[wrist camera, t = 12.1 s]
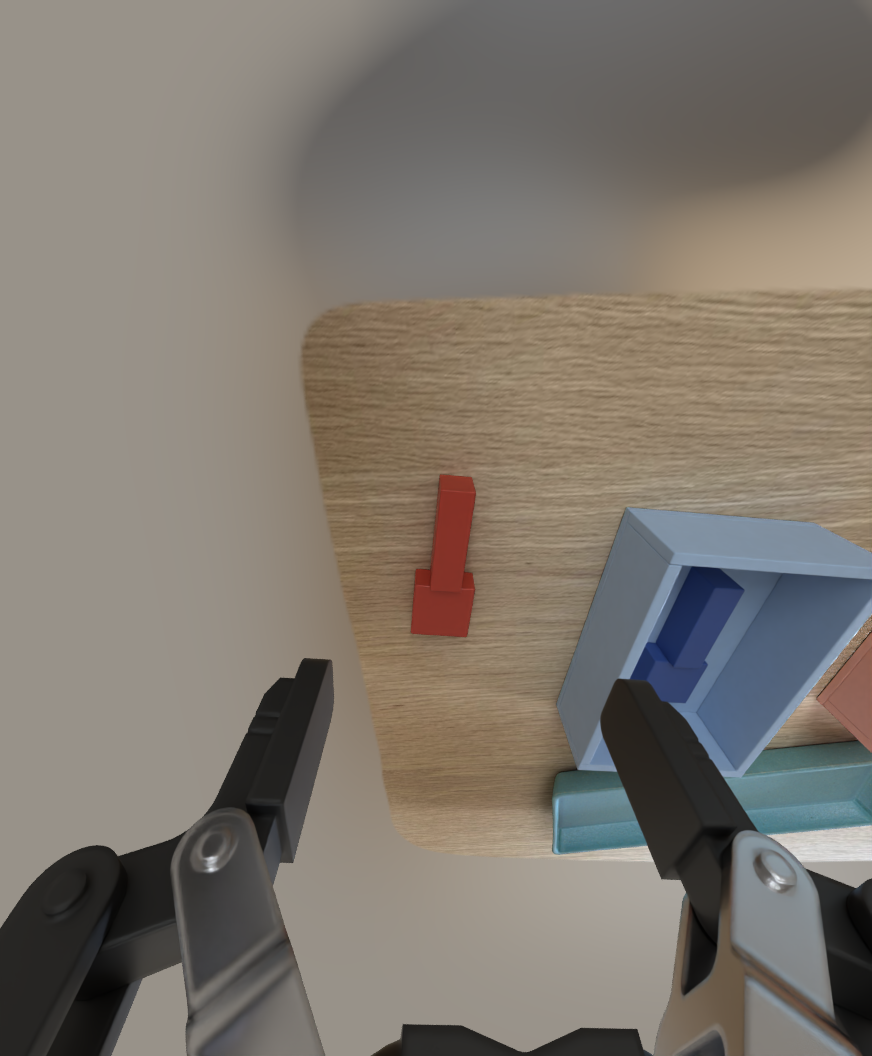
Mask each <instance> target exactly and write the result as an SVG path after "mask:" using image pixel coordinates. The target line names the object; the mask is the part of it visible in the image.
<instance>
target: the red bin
mask: <svg viewBox="0 0 872 1056" xmlns="http://www.w3.org/2000/svg"><path fill="white" fill-rule="evenodd" d="M817 700H818V701H819V702H820V703H821V704H822V705H823V706H824V707H825V708H826V709H827V710H828V711H829V712H830V713H831V714H832V715H833V716H834V717H835V718H836V719H837V720H838V721H839V722H840V723H841V724H842V725H843V726H844V727H846V728H847V729H848V730H849V731H850V732H851V733H852V734H853V735H854V736H855V737H856V738H857V739H858V740H859V741H860V742H861V743H862V744H863V745H864V746H865V747H866V748H867V749H868V750H869V751H870V752H871V753H872V632H871V633H870V635H869V636H868V637H867V638H866V639H865V641H864V642H863V643H862V644H861V645H860V647H859V648H858V649H857V650H856V652H855V653H854V654H853V655H852V656H851V658H850V659H849V660H848V661H847V662H846V664H845V665H844V666H843V667H842V669H841V670H840V671H839V672H838V673H837V675H836V676H835V677H834V678H833V679H832V681H831V682H830V683H829V684H828V686H827V687H826V688H825V689H824V690H823V692H822V693H821V694H820V695H819V696H818V698H817Z"/></svg>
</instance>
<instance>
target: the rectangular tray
mask: <svg viewBox="0 0 872 1056" xmlns="http://www.w3.org/2000/svg"><path fill="white" fill-rule="evenodd" d="M723 778H724V779H725V781H726V782H727V784H728V785H729V787H730V789H731V790H732V792H733V793H734V795H735V796H736V798H737V799H738V801H739V803H740V804H741V806H742V807H743V809H744V810H745V812H746V813H747V815H748V817H749V818H750V820H751V821H752V823H753V824H754V826H755V827H756V828H757V830H758V831H759V832H760V833H762V834H764V835H773V834H785V833H796V832H808V831H818V830H829V829H839V828H848V827H860V826H869V825H872V753H871V752H870V751H869V750H868V749H867V748H866V747H865V746H864V745H863V744H862V743H861V742H860V741H852V742H841V743H831V744H821V745H811V746H801V747H791V748H781V749H771V750H762V752H761V753H760V754H759V755H758V757H757V758H756V759H755V760H754V762H753V763H752V764H751V765H750V767H749V768H748V769H747V770H746V771H745V773H744V775H743V776H742V777H741V778H739V777H723ZM552 809H553V844H552V852H553V853H554V854H558V855H560V854H568V853H578V852H588V851H596V850H607V849H618V848H629V847H639V846H648V845H647V843H646V840H645V838H644V836H643V833H642V831H641V828H640V826H639V823H638V821H637V819H636V816H635V814H634V811H633V809H632V806H631V804H630V802H629V799H628V797H627V794H626V792H625V789H624V787H623V785H622V782H621V780H620V777H619V775H618V772H613V771H592V770H577V771H569V772H561V773H559V774H557V776H556V778H555V783H554V787H553V796H552Z"/></svg>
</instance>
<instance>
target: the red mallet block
mask: <svg viewBox="0 0 872 1056" xmlns="http://www.w3.org/2000/svg"><path fill="white" fill-rule="evenodd" d="M475 496H476V491H475V487H474V484H473V480H472V477H463V476H451V475H440V478H439V488H438V498H437V507H436V517H435V527H434V537H433V546H432V556H431V566H430V570H426V569H416V572H415V584H414V597H413V609H412V622H411V633H412V634H424V635H440V636H455V637H467V634H468V628H469V622H470V617H471V611H472V605H473V599H474V594H475V586H474V580H473V574H472V573H468V572H464V569H465V562H466V556H467V549H468V542H469V536H470V529H471V523H472V516H473V510H474V503H475Z"/></svg>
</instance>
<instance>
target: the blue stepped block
mask: <svg viewBox="0 0 872 1056" xmlns="http://www.w3.org/2000/svg"><path fill="white" fill-rule="evenodd" d="M744 591H745V590H744V589H743V588H742V587H741V586H740V585H739V584H737V583H736V582H735V581H734V580H733V579H732V578H730V577H729V576H728V575H727V574H726V573H724V572H723V571H722V570H721V569H720V568H710V567H696V566H692V567H691V569H690V571H689V573H688V575H687V578H686V580H685V582H684V584H683V586H682V588H681V590H680V592H679V594H678V596H677V598H676V601H675V603H674V605H673V607H672V609H671V611H670V613H669V615H668V617H667V619H666V621H665V623H664V626H663V628H662V630H661V632H660V634H659V636H658V638H657V640H656V643H651V642H647V643H646V645H645V647H644V649H643V651H642V653H641V655H640V658H639V660H638V662H637V664H636V666H635V668H634V670H633V673H632V675H631V677H630V679H635V680H646V681H648V682H649V683H650V684H651V685H652V687H653V688H654V690H655V692H656V693H657V695H658V697H659V698H660V700H661V701H665V702H668V703H686V702H687V700H688V699H689V697H690V695H691V693H692V692H693V690H694V688H695V687H696V685H697V683H698V682H699V680H700V678H701V676H702V675H703V673H704V671H705V670H706V668H707V666H708V664H707V663H706V661H705V659H706V657H707V655H708V654H709V652H710V650H711V649H712V647H713V645H714V643H715V642H716V640H717V638H718V636H719V635H720V633H721V631H722V629H723V628H724V626H725V624H726V623H727V621H728V619H729V617H730V616H731V614H732V612H733V610H734V609H735V607H736V605H737V603H738V602H739V600H740V598H741V597H742V595H743V593H744Z"/></svg>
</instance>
